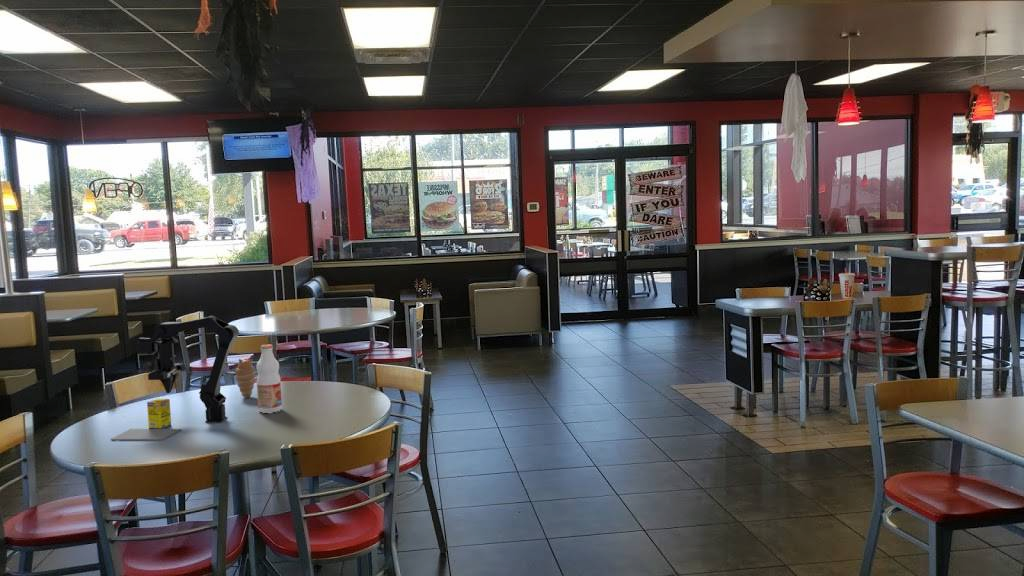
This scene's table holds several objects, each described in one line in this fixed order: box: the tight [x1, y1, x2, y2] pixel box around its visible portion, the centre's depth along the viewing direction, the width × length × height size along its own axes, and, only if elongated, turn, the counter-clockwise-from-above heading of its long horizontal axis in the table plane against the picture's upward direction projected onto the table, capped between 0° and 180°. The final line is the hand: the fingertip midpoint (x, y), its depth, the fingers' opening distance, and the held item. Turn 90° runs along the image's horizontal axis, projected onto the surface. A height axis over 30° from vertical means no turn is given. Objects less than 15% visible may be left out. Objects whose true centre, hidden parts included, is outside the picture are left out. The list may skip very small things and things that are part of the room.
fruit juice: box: [256, 343, 283, 414], centre depth 317 cm, size 9×9×28 cm
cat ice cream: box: [234, 357, 256, 399], centre depth 342 cm, size 9×8×18 cm
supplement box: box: [146, 398, 172, 429], centre depth 296 cm, size 6×6×11 cm
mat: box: [110, 428, 182, 442], centre depth 287 cm, size 20×13×1 cm, turn 86°
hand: (168, 392), depth 304 cm, fingers closed
